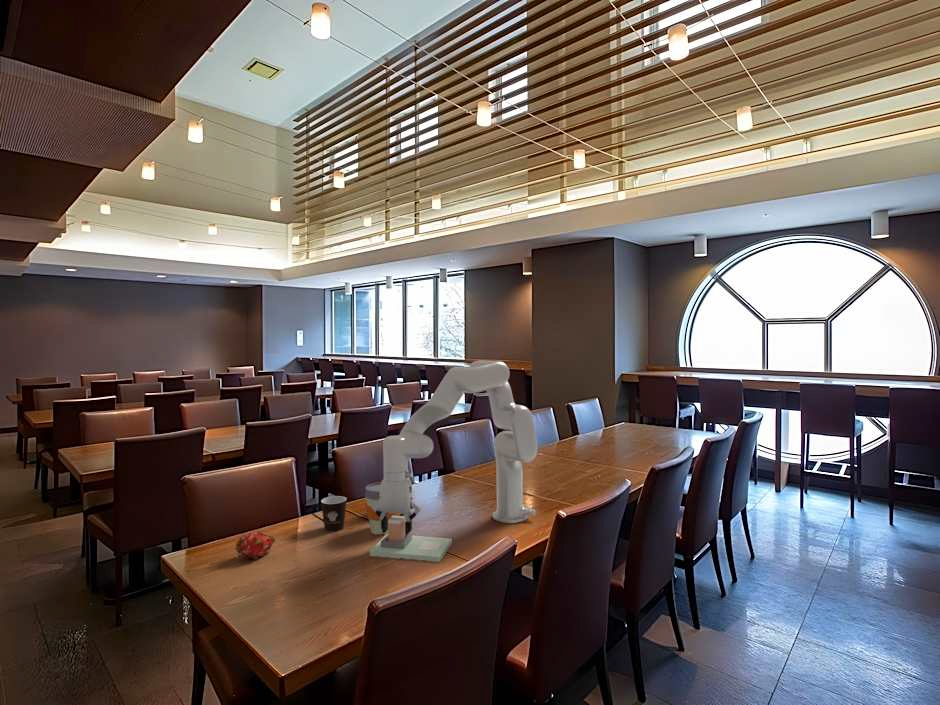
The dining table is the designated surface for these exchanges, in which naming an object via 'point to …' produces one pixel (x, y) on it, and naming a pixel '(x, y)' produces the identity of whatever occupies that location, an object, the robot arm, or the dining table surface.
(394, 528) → the tan upright block
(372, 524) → the reusable coffee cup
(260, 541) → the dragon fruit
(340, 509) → the coffee mug
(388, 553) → the board
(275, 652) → the dining table surface
